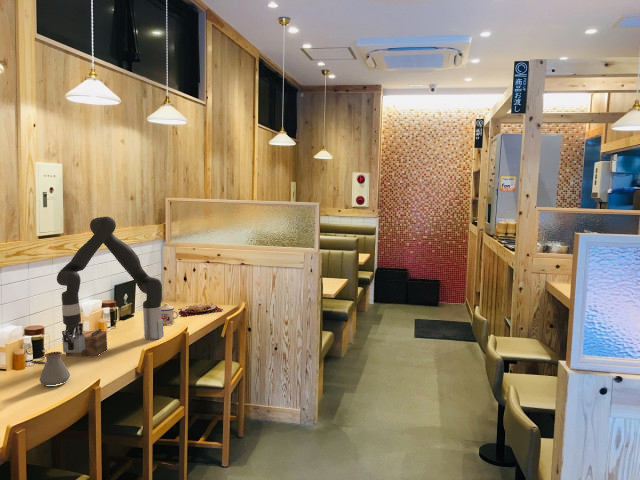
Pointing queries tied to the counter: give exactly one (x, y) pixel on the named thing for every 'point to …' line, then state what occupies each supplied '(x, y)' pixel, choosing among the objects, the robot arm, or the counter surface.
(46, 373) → the coffee pot
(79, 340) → the lock block
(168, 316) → the teacup with lid
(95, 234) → the robot arm
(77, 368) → the counter surface
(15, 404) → the counter surface
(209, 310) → the plate with food
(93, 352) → the coupler stand
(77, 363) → the counter surface
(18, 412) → the counter surface
